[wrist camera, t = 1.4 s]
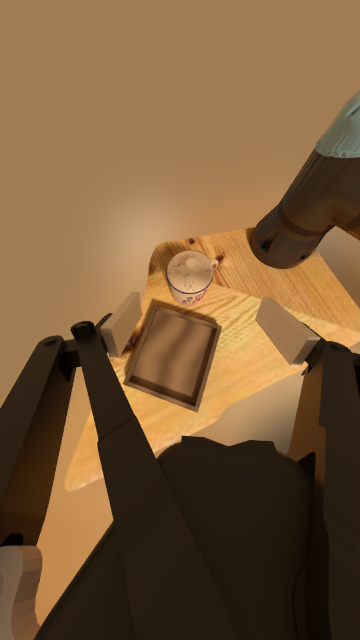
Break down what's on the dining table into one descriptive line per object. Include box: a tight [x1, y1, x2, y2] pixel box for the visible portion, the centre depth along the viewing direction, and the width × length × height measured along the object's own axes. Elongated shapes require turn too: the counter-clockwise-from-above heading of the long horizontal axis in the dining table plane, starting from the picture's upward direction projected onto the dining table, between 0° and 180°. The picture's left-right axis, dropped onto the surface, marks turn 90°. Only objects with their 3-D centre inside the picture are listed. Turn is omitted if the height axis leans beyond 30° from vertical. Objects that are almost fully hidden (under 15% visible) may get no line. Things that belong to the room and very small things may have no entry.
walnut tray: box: [123, 305, 222, 413], centre depth 31 cm, size 16×18×2 cm
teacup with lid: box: [166, 251, 218, 306], centre depth 30 cm, size 12×9×12 cm
